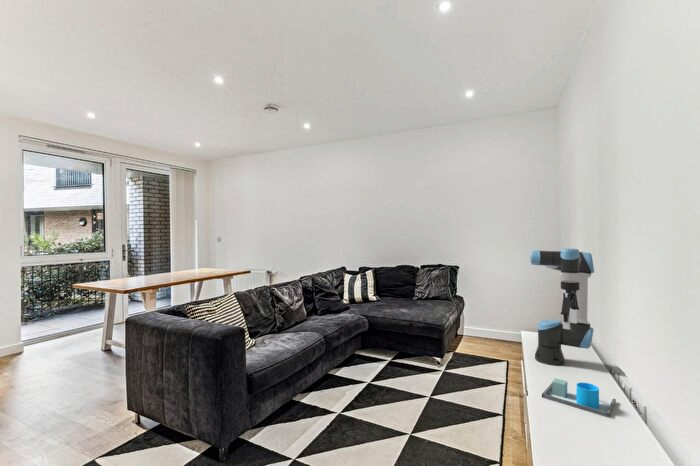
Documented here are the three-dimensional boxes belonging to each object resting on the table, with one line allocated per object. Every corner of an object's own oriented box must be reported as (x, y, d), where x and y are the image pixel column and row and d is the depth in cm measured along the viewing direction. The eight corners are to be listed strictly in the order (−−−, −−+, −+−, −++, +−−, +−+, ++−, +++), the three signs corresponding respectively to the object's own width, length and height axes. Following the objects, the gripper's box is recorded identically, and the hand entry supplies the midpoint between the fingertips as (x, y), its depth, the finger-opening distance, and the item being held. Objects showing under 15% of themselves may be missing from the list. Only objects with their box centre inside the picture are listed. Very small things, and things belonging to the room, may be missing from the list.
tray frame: (552, 385, 172) (552, 382, 172) (615, 402, 155) (615, 399, 155) (541, 397, 160) (541, 394, 160) (609, 417, 142) (609, 414, 142)
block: (567, 394, 163) (567, 381, 163) (564, 397, 159) (564, 384, 159) (555, 390, 166) (555, 378, 166) (552, 394, 163) (552, 381, 163)
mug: (600, 411, 147) (600, 392, 147) (577, 407, 151) (577, 388, 151) (596, 399, 158) (596, 381, 158) (574, 395, 162) (574, 377, 162)
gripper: (567, 277, 178) (567, 319, 178) (553, 283, 160) (553, 329, 160) (585, 279, 172) (585, 321, 173) (572, 285, 155) (572, 333, 155)
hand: (570, 325), depth 166 cm, fingers open, 13 cm apart
